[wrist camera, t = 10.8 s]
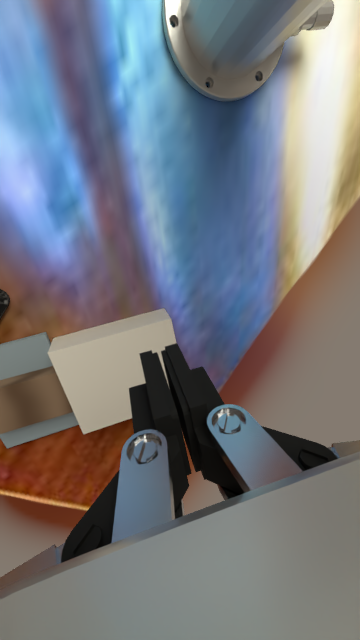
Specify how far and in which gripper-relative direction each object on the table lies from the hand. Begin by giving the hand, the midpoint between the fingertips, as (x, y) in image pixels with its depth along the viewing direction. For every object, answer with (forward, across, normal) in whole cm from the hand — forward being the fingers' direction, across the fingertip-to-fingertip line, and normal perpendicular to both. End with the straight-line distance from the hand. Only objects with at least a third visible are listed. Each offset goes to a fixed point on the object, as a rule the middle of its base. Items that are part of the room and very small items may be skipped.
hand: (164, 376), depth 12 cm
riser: (+22, +4, +12) cm, 26 cm away
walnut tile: (+22, +16, +13) cm, 30 cm away
